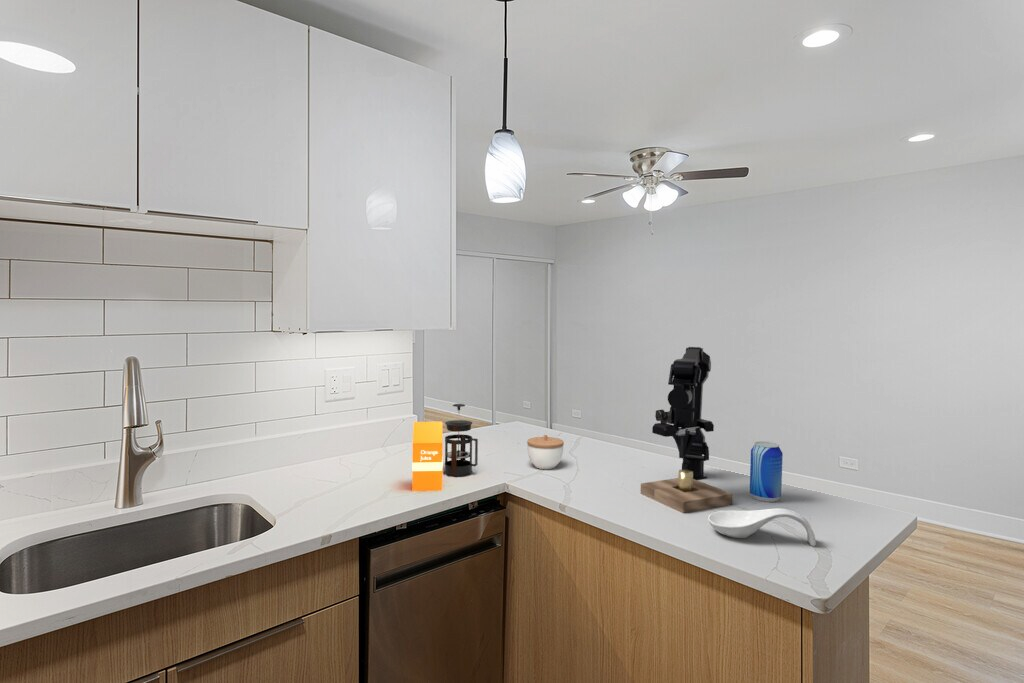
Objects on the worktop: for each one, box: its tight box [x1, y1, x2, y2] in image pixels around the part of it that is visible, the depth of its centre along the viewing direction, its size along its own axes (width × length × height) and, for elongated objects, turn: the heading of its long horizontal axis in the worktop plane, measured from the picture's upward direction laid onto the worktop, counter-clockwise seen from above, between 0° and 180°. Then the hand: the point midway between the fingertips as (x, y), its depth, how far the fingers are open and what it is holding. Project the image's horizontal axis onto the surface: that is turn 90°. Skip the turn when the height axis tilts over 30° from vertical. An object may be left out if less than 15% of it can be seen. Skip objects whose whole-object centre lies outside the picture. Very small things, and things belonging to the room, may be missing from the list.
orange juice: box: [411, 421, 444, 492], centre depth 169 cm, size 8×9×20 cm
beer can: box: [749, 441, 783, 503], centre depth 162 cm, size 8×8×16 cm
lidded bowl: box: [526, 434, 565, 470], centre depth 194 cm, size 13×13×11 cm
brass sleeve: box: [677, 469, 693, 492], centre depth 161 cm, size 4×4×8 cm
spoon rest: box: [707, 507, 817, 547], centre depth 134 cm, size 24×12×7 cm, turn 72°
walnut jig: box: [640, 477, 734, 514], centre depth 161 cm, size 18×18×3 cm
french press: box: [443, 403, 479, 478], centre depth 184 cm, size 12×9×23 cm
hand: (682, 456), depth 163 cm, fingers closed
